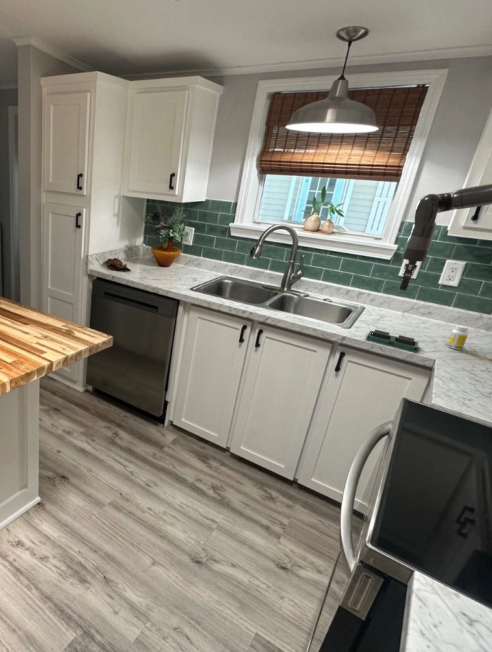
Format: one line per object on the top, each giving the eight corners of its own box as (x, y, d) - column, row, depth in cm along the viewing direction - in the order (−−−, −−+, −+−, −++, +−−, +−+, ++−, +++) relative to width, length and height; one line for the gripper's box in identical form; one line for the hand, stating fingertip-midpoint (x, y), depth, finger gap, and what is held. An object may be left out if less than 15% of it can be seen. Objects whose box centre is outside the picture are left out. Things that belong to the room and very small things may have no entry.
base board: (416, 346, 177) (418, 341, 176) (415, 354, 168) (417, 348, 167) (369, 334, 187) (370, 329, 186) (365, 341, 178) (367, 336, 177)
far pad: (387, 339, 180) (389, 332, 179) (386, 342, 176) (388, 335, 175) (373, 335, 183) (375, 329, 182) (371, 338, 179) (373, 332, 178)
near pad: (412, 345, 175) (414, 338, 174) (411, 348, 171) (413, 342, 170) (396, 341, 178) (399, 335, 177) (395, 344, 174) (398, 338, 173)
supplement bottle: (463, 348, 178) (472, 327, 175) (459, 350, 175) (468, 329, 172) (448, 344, 182) (457, 323, 179) (444, 346, 179) (452, 325, 176)
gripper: (428, 251, 150) (413, 293, 156) (429, 247, 161) (415, 287, 167) (404, 248, 155) (390, 289, 160) (406, 244, 165) (394, 283, 171)
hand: (403, 288), depth 164 cm, fingers open, 8 cm apart
